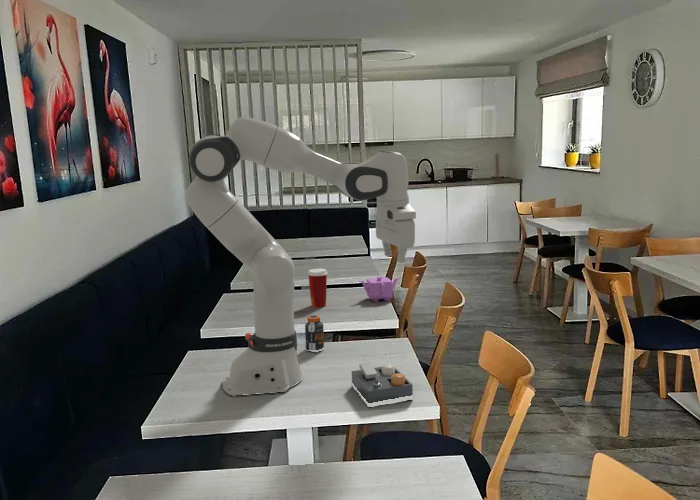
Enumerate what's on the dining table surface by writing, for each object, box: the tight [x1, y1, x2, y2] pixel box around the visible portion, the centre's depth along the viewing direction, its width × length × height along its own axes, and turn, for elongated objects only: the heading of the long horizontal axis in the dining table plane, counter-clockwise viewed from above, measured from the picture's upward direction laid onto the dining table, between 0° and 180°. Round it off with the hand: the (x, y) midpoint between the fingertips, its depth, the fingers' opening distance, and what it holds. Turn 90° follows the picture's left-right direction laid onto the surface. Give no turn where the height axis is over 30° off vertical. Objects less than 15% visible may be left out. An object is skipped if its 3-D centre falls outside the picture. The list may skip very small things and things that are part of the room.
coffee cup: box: [307, 268, 328, 309], centre depth 238 cm, size 8×8×15 cm
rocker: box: [359, 361, 377, 379], centre depth 155 cm, size 3×6×1 cm, turn 17°
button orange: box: [391, 372, 406, 386], centre depth 151 cm, size 4×4×4 cm
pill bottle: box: [304, 314, 325, 351], centre depth 187 cm, size 6×6×11 cm
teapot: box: [358, 276, 400, 303], centre depth 246 cm, size 18×13×10 cm
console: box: [351, 366, 413, 403], centre depth 153 cm, size 12×14×8 cm
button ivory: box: [381, 363, 396, 376], centre depth 157 cm, size 4×4×4 cm
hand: (394, 259), depth 162 cm, fingers open, 8 cm apart
